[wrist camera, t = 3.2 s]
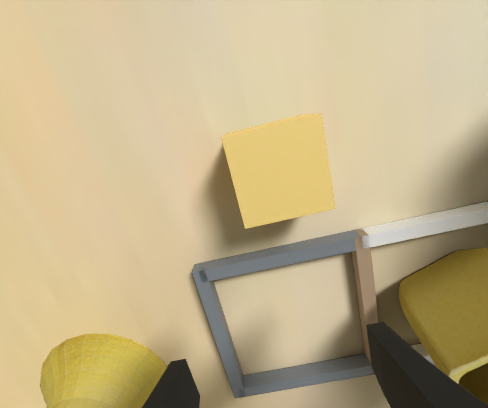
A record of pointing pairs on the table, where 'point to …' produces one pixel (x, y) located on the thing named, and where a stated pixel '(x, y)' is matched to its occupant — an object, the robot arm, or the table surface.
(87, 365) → the handbell
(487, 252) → the flower pot
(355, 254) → the sorting board
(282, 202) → the ochre block
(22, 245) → the table surface
